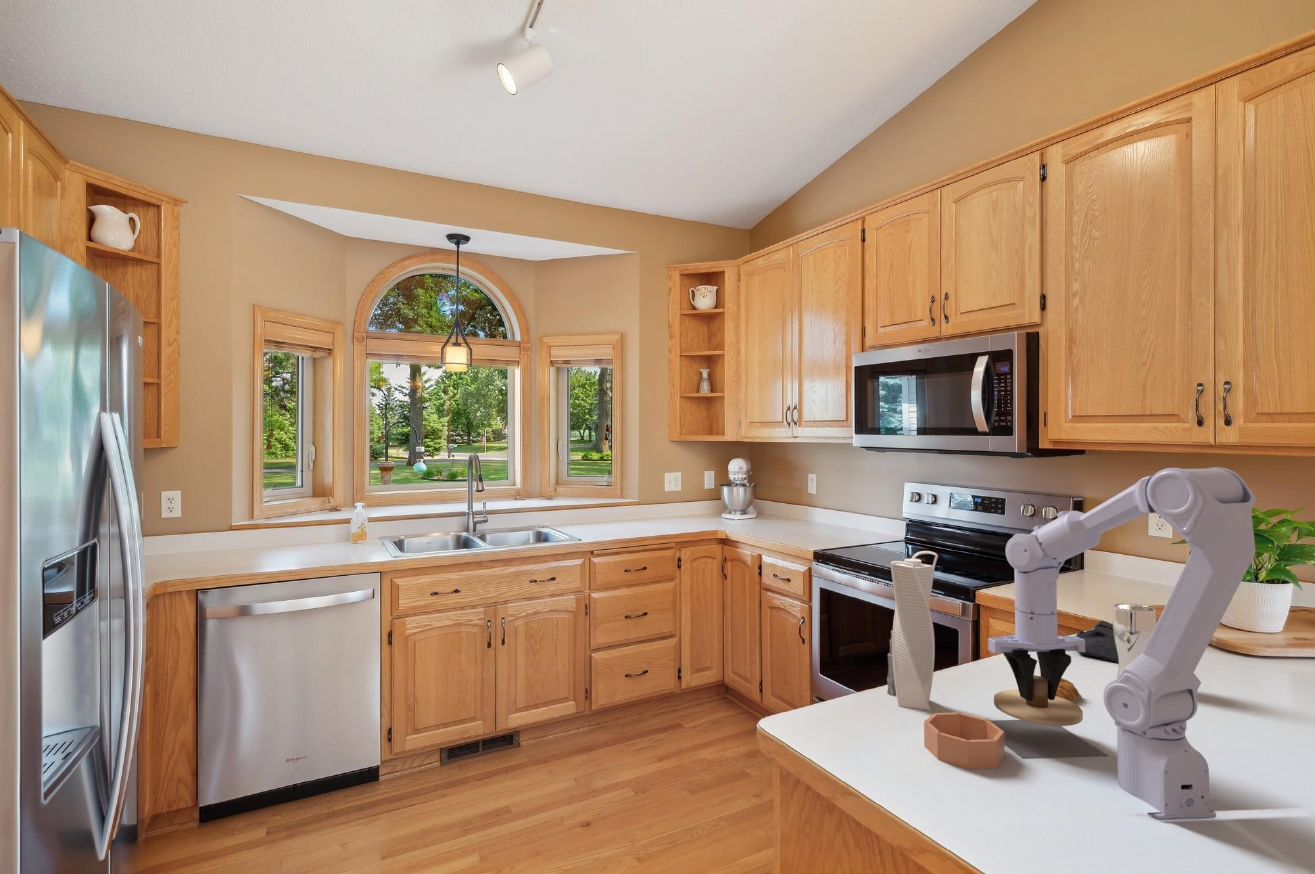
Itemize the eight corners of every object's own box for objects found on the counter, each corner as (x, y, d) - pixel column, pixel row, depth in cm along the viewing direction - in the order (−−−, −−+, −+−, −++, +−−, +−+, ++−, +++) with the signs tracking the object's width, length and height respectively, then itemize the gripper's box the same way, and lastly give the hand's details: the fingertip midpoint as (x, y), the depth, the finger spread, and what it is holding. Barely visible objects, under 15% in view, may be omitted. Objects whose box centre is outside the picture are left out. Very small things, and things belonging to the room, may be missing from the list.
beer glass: (1166, 688, 124) (1165, 609, 125) (1142, 693, 122) (1141, 612, 122) (1128, 676, 131) (1127, 601, 131) (1105, 680, 128) (1104, 604, 129)
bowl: (1016, 772, 92) (1016, 740, 92) (947, 774, 91) (947, 742, 91) (978, 740, 102) (977, 711, 102) (915, 742, 101) (915, 713, 101)
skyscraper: (935, 701, 118) (934, 548, 119) (942, 719, 111) (940, 555, 111) (886, 697, 121) (885, 546, 121) (889, 714, 113) (888, 553, 113)
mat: (1108, 760, 95) (1108, 755, 95) (1022, 763, 95) (1022, 757, 95) (1050, 723, 108) (1050, 718, 108) (974, 725, 108) (974, 720, 108)
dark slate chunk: (1061, 656, 145) (1060, 634, 146) (1079, 635, 162) (1079, 615, 162) (1146, 671, 135) (1145, 648, 135) (1157, 647, 151) (1156, 627, 152)
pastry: (1066, 717, 112) (1066, 694, 112) (1024, 705, 117) (1023, 684, 117) (1083, 702, 118) (1082, 681, 118) (1042, 692, 123) (1041, 672, 123)
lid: (1102, 724, 96) (1101, 692, 96) (1023, 726, 95) (1023, 694, 95) (1048, 693, 108) (1048, 664, 108) (978, 695, 107) (978, 666, 107)
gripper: (1063, 603, 106) (1064, 687, 106) (976, 605, 105) (978, 689, 105) (1094, 614, 99) (1096, 704, 99) (1002, 616, 98) (1003, 706, 98)
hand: (1037, 697), depth 101 cm, fingers closed on lid, 3 cm apart
